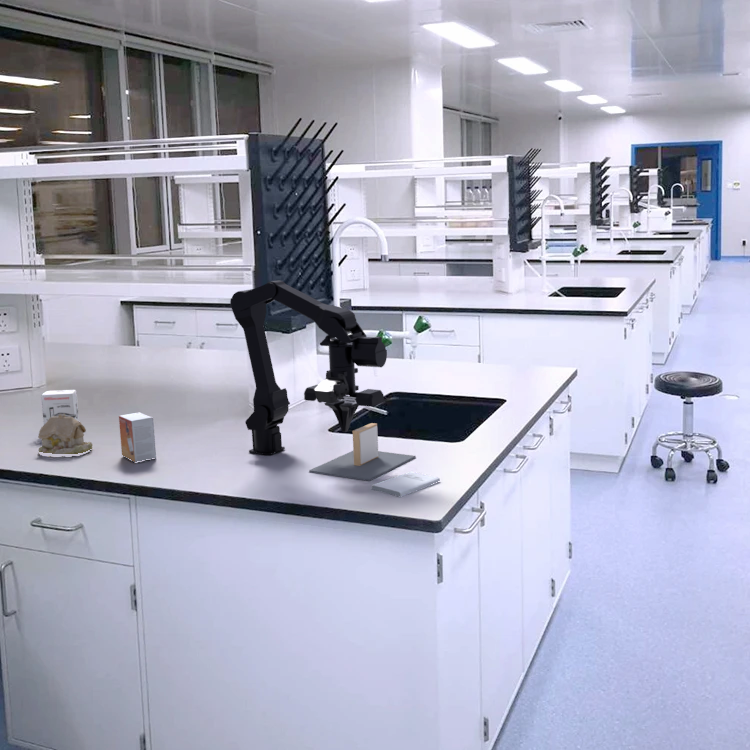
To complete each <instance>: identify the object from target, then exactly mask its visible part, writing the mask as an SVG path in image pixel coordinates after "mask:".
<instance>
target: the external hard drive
mask: <svg viewBox="0 0 750 750" xmlns="http://www.w3.org/2000/svg"><path fill="white" fill-rule="evenodd" d="M438 481H440V482H441V478H440V477H438V476H434V475H430V474H425V473H422V472H416V471H413V470H411V471H409V472H406V473H403V474H400V475H396V476H395V477H391V478H389V479H385V480H383V481H380V482H377V483H374V484H371V490H373V491H376V492H380V493H384V494H387V495H392V496H395V495H396V497H399V496H400V497H401V496H402V497H404V496H407V495H409V494H411V492H412V493H414V492H413V491H415V492H417V491H419V489H420V490H422V489H421V488H423V489H425V488H427V487H426V486H428V487H430V486H429V485H431V484H433V483H436V482H438ZM436 484H437V483H436ZM433 485H434V484H433ZM431 486H432V485H431ZM424 487H425V488H424ZM416 490H417V491H416ZM406 494H407V495H406ZM400 497H399V498H400Z"/></svg>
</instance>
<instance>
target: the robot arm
mask: <svg viewBox="0 0 750 750" xmlns="http://www.w3.org/2000/svg"><path fill="white" fill-rule="evenodd" d="M275 301H276V302H278V303H279V304H281V305H283V306H285V307H287V308H289V309H291V310H293V311H295V312H297V313H299V314H301V315H302V316H304V317H307V318H308V319H310V320H311V321H313V322H314V323H315V325H316V326H317V327H318V329H320V331H322V332H324V333H325V334H326V336H325V337H324V338H323V340H321V341H320V342H319V345H320V346H321V347H328V357H329V358H328V360H329V361H328V363H329V370H326V373H325V379H324V380H322V381H321V382H320V383H319V384H315V385H312V386H308V387H306V388H305V390H304V392H303V396H304V397H303V398H304V401H310V402H315V401H317V403H321V404H322V403H324V406H327V407H328V408H330V409H331V410H332V411H333V413H334V415H335V417H336V420H337V422H338V425H339V427H340V429H341V431H342V432H343V433H347V432H348V430H349V428H350V426H351V423H352V420H353V419H354V416H355V413H356V412H357V410H358V408H359V407H374V406H377V405H379V404H382V403H384V402H385V398H384V397H385V396H384V393H383V392H382V390H381V389H373V388H367V389H364V390H361V391H359V388H360V387H359V385H356V374H357V373H359V370H358V369H359V368H358V367H366V368H367V367H368V368H370V367H371V368H383V367H385V365H386V361H387V358H388V356H387V355H388V350H387V349H386V345H385V343H384V342H383V337H382V336H373V337H372V336H367V335H366V332H364V330H363V329H362V327H361V325H360V324H359V323H358V321H357V318H356V314H355V313H354V312H353V311H352V310H350V309H347V308H344V307H340V306H337V305H336V306H335V305H330V304H326V303H323V302H321V301H320V300H317V299H316V298H313V297H312V296H309V295H308V294H307V293H304V292H302V291H300V290H298V289H296V288H294V287H293V286H290V285H288V284H286V283H285V282H284V281H283V280H272V281H267V283H264V284H263V285H260V286H258V287H255V288H250V289H246V290H245V289H244V290H239V291H236V292H234V294H232V297H231V298H230V302H229V304H230V308H231V311H232V313H233V316H234V318H235V321H236V322H238V324H239V325H240V327H241V328H242V330H243V333H244V338H245V342H246V348H247V350H248V351H247V352H248V356H249V361H250V366H251V369H252V375H253V379H254V385H255V391H254V394H253V399H252V404H253V412H252V413H251V414H250V416H249V417H248V418H247V419H246V420H245V421H244V422H245V425H246V428H247V430H248V431H251V438H252V439H251V441H252V448H251V449H249V450H248V453H250V454H251V453H252V454H258V455H265V456H271V455H274V454H275V453H278V452H281V451H284V450H285V449H286V447H285V446H283V444H282V443H283V442H282V433H281V430H280V428H281V427H280V425H281V424H283V422H284V420H285V417H286V415H287V414H288V413H289V406H290V405H291V403H290V401H289V398H288V390H287V388H285V387H284V388H280V386H279V385H278V384H277V381H276V377H275V372H274V367H273V363H272V359H271V357H272V356H271V354H270V350H269V349H270V348H269V344H268V339H267V334H266V330H265V321H266V320H265V319H266V316H267V305H268V304H270V303H272V302H275ZM355 365H356V366H357V367H355ZM358 391H359V392H358Z"/></svg>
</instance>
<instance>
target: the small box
mask: <svg viewBox="0 0 750 750" xmlns="http://www.w3.org/2000/svg"><path fill="white" fill-rule="evenodd" d="M118 422H119V434H120V448H121V456H122V455H123V456H125V457H127V458H129V459H131V460H132V461H134V462H137V461H142V460H146V459H152V458H156V459H157V450H156V436H155V425H154V417H153V416H149V415H147V414H145V413H142V412H140V411H139V412H134V413H127V414H121V415H119V416H118ZM132 461H131V462H132Z"/></svg>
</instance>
